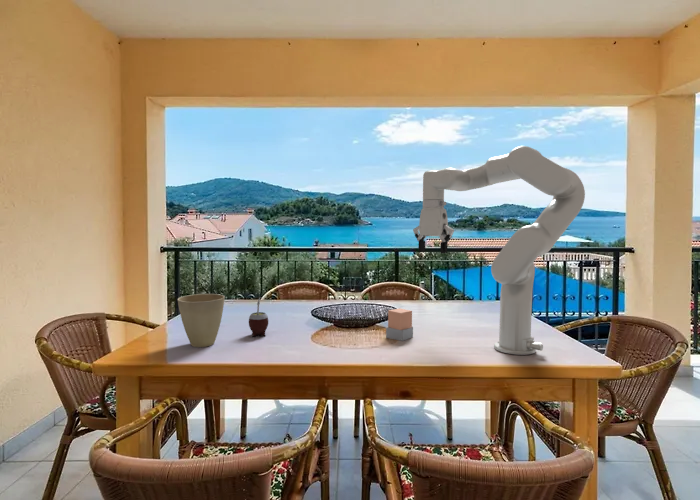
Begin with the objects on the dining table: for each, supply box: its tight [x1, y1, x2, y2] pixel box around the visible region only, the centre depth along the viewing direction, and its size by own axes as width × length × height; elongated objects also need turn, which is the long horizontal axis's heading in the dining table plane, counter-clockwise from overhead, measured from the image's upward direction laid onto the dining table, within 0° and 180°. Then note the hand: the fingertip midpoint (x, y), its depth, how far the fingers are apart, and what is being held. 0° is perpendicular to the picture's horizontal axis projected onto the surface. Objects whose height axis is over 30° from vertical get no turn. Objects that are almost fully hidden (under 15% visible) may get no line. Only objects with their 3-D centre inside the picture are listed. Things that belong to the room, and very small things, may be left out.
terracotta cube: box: [387, 307, 413, 330], centre depth 153 cm, size 6×6×6 cm
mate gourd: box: [248, 296, 269, 338], centre depth 155 cm, size 8×8×15 cm
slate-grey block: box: [385, 326, 414, 342], centre depth 154 cm, size 7×7×4 cm
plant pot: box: [177, 293, 225, 348], centre depth 144 cm, size 15×15×16 cm
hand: (432, 252), depth 156 cm, fingers open, 9 cm apart
